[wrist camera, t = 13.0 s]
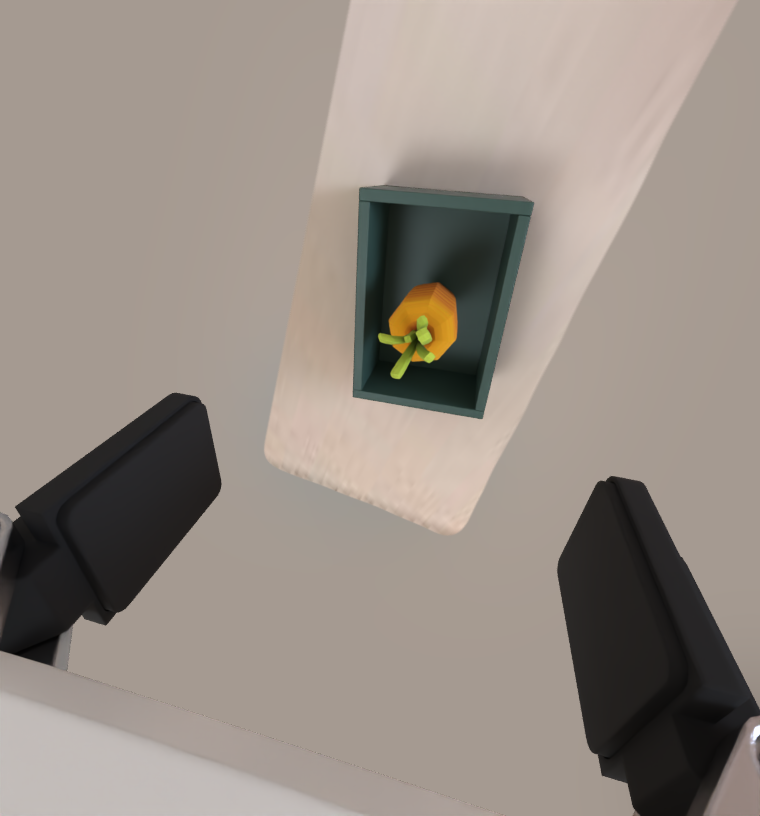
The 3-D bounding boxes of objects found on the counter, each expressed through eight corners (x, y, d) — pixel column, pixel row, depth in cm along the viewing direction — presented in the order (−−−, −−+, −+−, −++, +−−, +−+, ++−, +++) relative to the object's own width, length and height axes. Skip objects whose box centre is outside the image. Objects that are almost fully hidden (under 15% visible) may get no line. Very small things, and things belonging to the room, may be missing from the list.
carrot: (426, 328, 38) (397, 404, 25) (400, 282, 36) (355, 339, 24) (474, 303, 36) (468, 373, 23) (448, 254, 34) (427, 299, 22)
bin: (383, 185, 33) (359, 187, 27) (524, 196, 31) (534, 202, 25) (372, 363, 42) (352, 397, 35) (482, 380, 40) (482, 419, 34)
